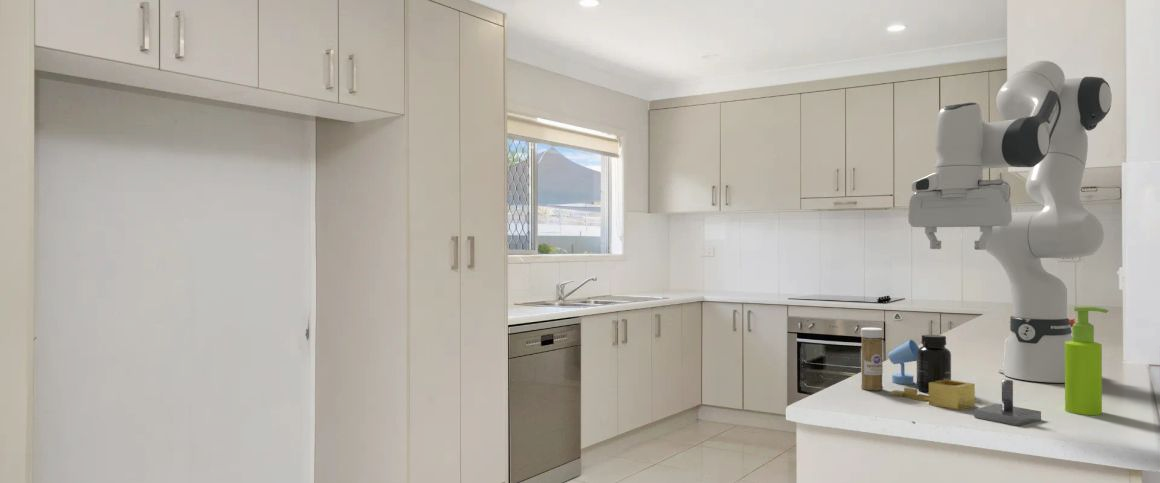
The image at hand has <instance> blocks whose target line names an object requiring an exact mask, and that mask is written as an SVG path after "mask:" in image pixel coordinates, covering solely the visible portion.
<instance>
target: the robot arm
mask: <svg viewBox="0 0 1160 483" xmlns="http://www.w3.org/2000/svg"><path fill="white" fill-rule="evenodd" d="M1112 101H1113V94H1112V91H1111V87H1110V84H1109V83H1108V82H1107V81H1106V80H1105V79H1104V78H1103V77H1099V76H1084V77H1077V78H1074V77H1073V78H1066V77H1065V74H1064V71H1063V70H1062V68H1061V67H1060V66H1059V65H1058V64H1056V63H1055V62H1053V61H1049V60H1037V61H1034V62H1032V63H1029V64H1028V65H1025V66H1024V67H1021V69H1019V70H1018V71H1016V72H1015V73H1014V74H1012V76H1010V78H1008V80H1006V81H1005V82H1004V84H1002V86H1001V87H1000V88H999V90H998V93H997V95H996V100H995V104H996V109H997V112H998V113H999V115H1000V116H1001V118H1003V120H1000V121H991V122H985V121H984V120H983V116H982V110H981V106H980V104H979V103H976V102H964V103H957V104H951V105H946V106H944V107H942V108H941V109H939V111H938V115H937V120H936V126H935V137H934V138H935V140H934V144H935V145H934V148H935V152H936V162H935V165H934V172H933V173H931V174H929V175H927V176H924V177H922V178H919V179H917V180H915V181H913V182H911V191H912V192H914V193H913V194H912V195H911V196H910V198H909V202H908V214H907V216H908V217H907V219H908V224H909V226H911V228H924V234H925V235H926V237H927V239H928V241H929V249H930V250H941V249H942V240H938V237H937V236H936V233H937V231H938V228H963V227H964V228H965V227H966V228H968V227H969V228H971V227H972V228H976V227H979V232H980V234H979V235H980V236H979V239H978V240H974V250H976V251H977V250H985V251H986V252H987V253H988V254H990V255H991V256H993V257H994V258H995V259H996V260H997V261H998V263H1000V265H1001V267H1003V269H1004V271H1005V273H1006V276H1008V277H1007V278H1008V280H1009V285H1010V290H1011V307H1012V308H1011V310H1012V311H1011V313H1012V315H1011V316H1010V318H1009V319H1010V321H1009V331H1010V332H1011V333H1010V334H1009V336H1008V337H1006V338H1005V340H1004V351H1003V352H1004V354H1003V363H1002V364H1003V365H1002V366H1000V367H998V373H1000V374H1004V376H1005V377H1009V378H1012V379H1017V380H1024V381H1030V382H1039V383H1053V384H1054V383H1055V384H1056V383H1057V384H1058V383H1062V384H1063V383H1064V384H1065V342H1067V341H1073V335H1072V334H1073V330H1072V328H1073V324H1075V323H1077V321H1076V319H1075V318H1069V317H1068V288H1067V286H1066V284H1065V283H1064V282H1063V281H1062V279H1060V278H1059V277H1057V276H1055V275H1054V274H1051V273H1049V272H1048V271H1047V270H1046V269H1045V268H1044V266H1043V265H1042V260H1041V259H1067V260H1068V259H1076V258H1084V257H1089V256H1093V255H1095V253H1097V251H1098V250H1099V249H1100V248H1101V246H1102V244H1103V241H1104V237H1105V233H1104V232H1105V231H1104V227H1103V225H1102V222H1101V221H1100V220H1099V219H1098V218H1097V216H1096V215H1094V214H1093V213H1091V212H1090V211H1088V210H1087V209H1086V208H1085V207H1084V205H1083V203H1082V201H1081V196H1080V193H1081V187H1082V180H1083V177H1084V173H1085V168H1086V165H1087V164H1086V163H1087V157H1088V150H1089V148H1088V147H1089V143H1088V142H1089V141H1088V140H1089V138H1088V135H1087V132H1086V131H1088V132H1089V131H1092V130H1095V128H1096V127H1097V126H1098V124H1099V123H1100V122H1102V121H1103V120H1104V119H1105V117H1106V116H1107V115H1108V113H1109V112H1110V110H1111V106H1112ZM1001 168H1002V169H1003V168H1029V170H1028V175H1027V177H1026V181H1025V191H1026V194H1027V196H1028V197H1029V198H1030V199H1031V200H1032V201H1034V202H1035V203H1037V204H1038V205H1041V206H1043V208H1042V209H1041V210H1037V211H1012V204H1011V200H1010V198H1011V193H1012V192H1011V189H1012V188H1011V186H1010V183H1008V182H1007V181H1006V180H1005V181H1004V179H998V178H996V179H993V180H992V179H991V180H990V179H983V175H984V174H983V173H984V172H983V171H984V169H985V170H987V169H990V170H991V169H1001Z"/></svg>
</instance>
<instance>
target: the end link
mask: <svg viewBox="0 0 1160 483" xmlns="http://www.w3.org/2000/svg"><path fill="white" fill-rule="evenodd" d="M975 390H976V388H975V383H971V382H966V381H959V380H954V379H951V380H948V379H944V380H939V381H934V382H929V393H928V396H929V400H928V405H931V406H936V407H940V408H945V409H951V410H956V411H959V410H964V409H969V408H972V407H975V404H976V402H975V399H976V396H975V394H976V393H975Z"/></svg>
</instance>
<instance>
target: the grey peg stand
mask: <svg viewBox="0 0 1160 483" xmlns="http://www.w3.org/2000/svg"><path fill="white" fill-rule="evenodd" d="M973 413H974V415H973V417H974V418H976V419H982V420H986V421H992V422H996V423H1000V424H1007V425H1011V424H1012V426H1016V427H1017V426H1018V427H1020V426H1023V424H1024V425H1027V424H1031V423H1033V422H1036V421H1041V420H1042V411H1041V410H1037V409H1036V410H1034V409H1029V408H1023V407H1019V406H1014V380H1012V379H1001V403H994V404H991V405H986V406H982V407H978V408H974V411H973ZM1019 425H1020V426H1019Z"/></svg>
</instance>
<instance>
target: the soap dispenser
mask: <svg viewBox="0 0 1160 483" xmlns="http://www.w3.org/2000/svg"><path fill="white" fill-rule="evenodd" d="M1074 312H1077V322H1076V323H1075V324H1073V327H1072V337H1073V341H1067V342H1065V383H1064V401H1065V402H1064V410H1065V412H1068V413H1071V414H1075V415H1083V416H1099V415H1102V414H1103V379H1102V378H1103V363H1102V362H1103V356H1102V355H1103V354H1102V352H1103V351H1102V350H1103V349H1102V348H1103V346H1102V345H1103V344H1102V343H1101V342H1100V343H1099V342H1096V341H1095V339H1094V338H1095V337H1094V336H1095V335H1094V334H1095V327H1094V324H1092V323H1090V322H1089V312H1100V313H1103V314H1104V313H1105V314H1106V313H1108V312H1109V310H1108V309H1106V308H1103V307H1102V308H1100V307H1097V306H1076V307H1075V306H1074Z"/></svg>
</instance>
